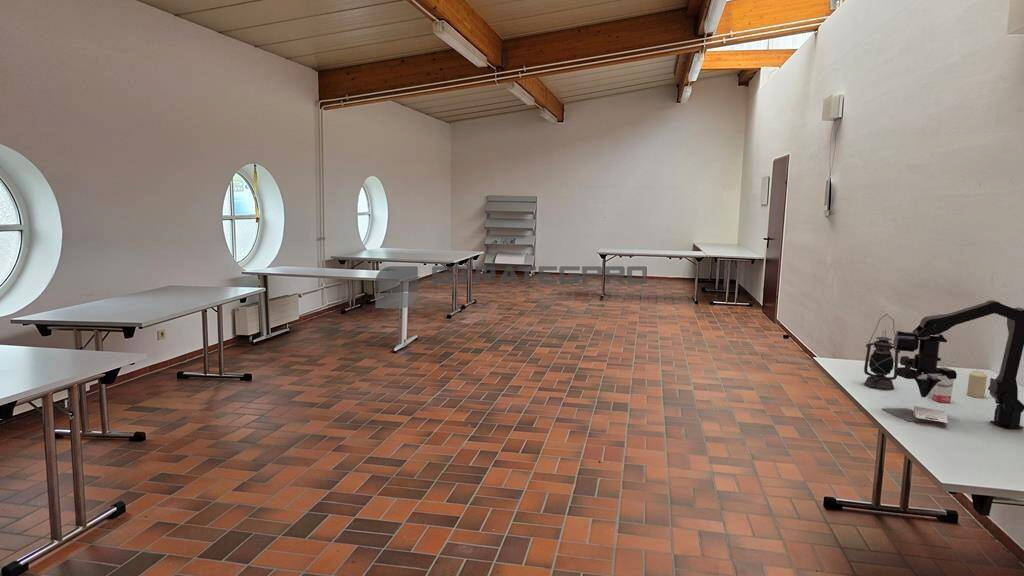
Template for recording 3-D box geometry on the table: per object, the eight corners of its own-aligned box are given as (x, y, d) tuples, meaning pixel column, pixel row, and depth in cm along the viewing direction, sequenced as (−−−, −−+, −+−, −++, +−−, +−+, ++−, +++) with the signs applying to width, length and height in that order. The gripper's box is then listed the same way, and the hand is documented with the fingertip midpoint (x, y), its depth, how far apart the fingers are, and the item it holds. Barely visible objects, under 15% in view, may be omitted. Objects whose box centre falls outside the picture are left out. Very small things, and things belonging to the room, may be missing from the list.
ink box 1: (951, 403, 232) (955, 372, 230) (936, 402, 233) (940, 371, 231) (940, 396, 240) (944, 366, 239) (926, 395, 241) (929, 365, 240)
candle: (968, 396, 241) (971, 371, 240) (965, 393, 246) (968, 368, 245) (985, 399, 239) (988, 373, 237) (982, 395, 244) (985, 370, 242)
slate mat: (935, 421, 210) (935, 420, 210) (908, 421, 209) (908, 420, 209) (907, 409, 223) (907, 408, 223) (881, 409, 222) (881, 408, 222)
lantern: (857, 385, 253) (864, 312, 249) (867, 381, 260) (874, 310, 256) (891, 392, 244) (899, 317, 240) (900, 388, 251) (908, 314, 247)
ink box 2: (944, 417, 213) (947, 430, 203) (912, 412, 217) (914, 425, 208) (946, 409, 212) (949, 422, 202) (913, 404, 217) (915, 417, 207)
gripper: (935, 348, 223) (930, 390, 224) (886, 347, 221) (882, 390, 222) (960, 355, 212) (955, 399, 213) (909, 355, 210) (904, 400, 211)
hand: (923, 397), depth 216 cm, fingers closed
